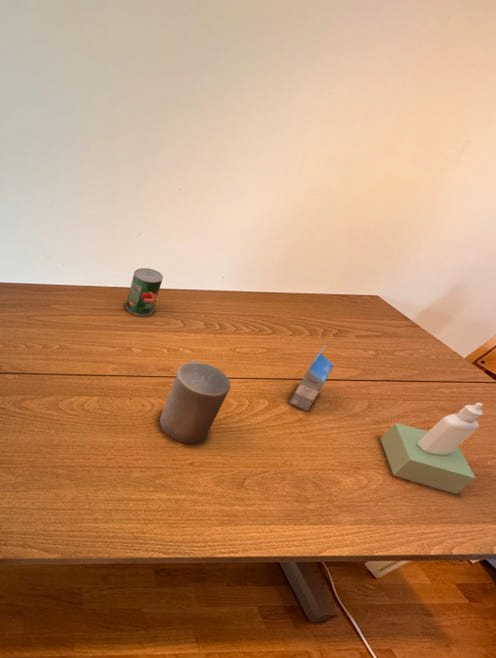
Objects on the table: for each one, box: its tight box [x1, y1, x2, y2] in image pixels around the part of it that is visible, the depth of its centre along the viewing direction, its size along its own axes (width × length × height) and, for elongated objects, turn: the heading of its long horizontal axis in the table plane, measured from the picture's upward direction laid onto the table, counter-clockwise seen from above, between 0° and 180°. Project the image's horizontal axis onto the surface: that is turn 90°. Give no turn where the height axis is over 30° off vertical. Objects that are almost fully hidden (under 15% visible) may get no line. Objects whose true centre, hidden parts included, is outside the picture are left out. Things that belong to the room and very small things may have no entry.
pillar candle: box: [159, 361, 231, 445], centre depth 83 cm, size 10×10×15 cm
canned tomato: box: [125, 267, 164, 317], centre depth 120 cm, size 8×8×11 cm
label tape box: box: [289, 344, 334, 412], centre depth 93 cm, size 9×4×12 cm, turn 137°
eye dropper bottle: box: [417, 402, 484, 455], centre depth 76 cm, size 4×6×12 cm
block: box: [380, 422, 477, 495], centre depth 81 cm, size 10×10×5 cm
